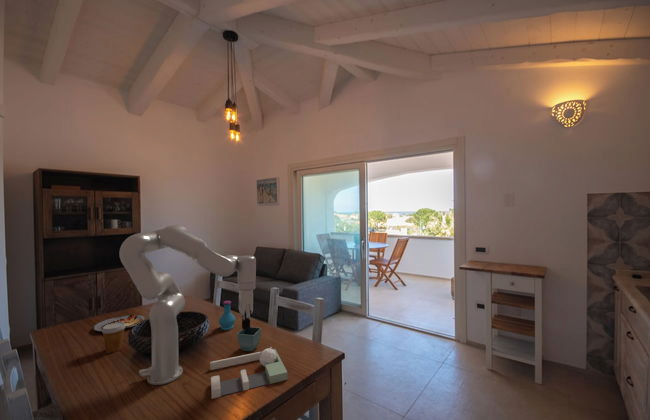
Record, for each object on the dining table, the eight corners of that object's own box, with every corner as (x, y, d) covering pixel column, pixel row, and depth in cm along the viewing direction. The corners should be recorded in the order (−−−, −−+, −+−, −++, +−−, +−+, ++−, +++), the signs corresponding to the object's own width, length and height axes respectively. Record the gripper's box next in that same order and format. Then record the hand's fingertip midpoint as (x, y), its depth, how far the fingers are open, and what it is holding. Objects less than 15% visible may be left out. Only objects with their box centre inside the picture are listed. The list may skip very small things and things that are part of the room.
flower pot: (254, 354, 132) (253, 335, 132) (236, 352, 134) (236, 333, 134) (261, 345, 141) (261, 327, 141) (245, 344, 143) (245, 326, 143)
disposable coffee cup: (129, 344, 144) (129, 320, 144) (120, 353, 135) (120, 328, 135) (107, 346, 141) (107, 322, 142) (97, 356, 132) (97, 330, 132)
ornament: (256, 364, 123) (262, 345, 127) (272, 369, 124) (278, 350, 128) (257, 364, 117) (264, 343, 122) (274, 369, 118) (280, 348, 123)
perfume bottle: (238, 326, 165) (238, 300, 165) (225, 332, 157) (225, 305, 157) (228, 323, 170) (228, 298, 170) (215, 328, 162) (215, 302, 162)
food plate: (142, 315, 185) (142, 310, 185) (148, 326, 167) (148, 320, 167) (93, 325, 169) (93, 319, 169) (94, 338, 151) (94, 332, 151)
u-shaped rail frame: (211, 398, 101) (211, 390, 101) (210, 368, 120) (210, 361, 120) (287, 379, 112) (287, 372, 112) (275, 355, 131) (275, 348, 131)
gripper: (235, 281, 126) (234, 323, 125) (239, 290, 112) (238, 336, 112) (252, 280, 129) (252, 320, 128) (258, 288, 115) (257, 333, 115)
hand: (245, 328), depth 120 cm, fingers closed
